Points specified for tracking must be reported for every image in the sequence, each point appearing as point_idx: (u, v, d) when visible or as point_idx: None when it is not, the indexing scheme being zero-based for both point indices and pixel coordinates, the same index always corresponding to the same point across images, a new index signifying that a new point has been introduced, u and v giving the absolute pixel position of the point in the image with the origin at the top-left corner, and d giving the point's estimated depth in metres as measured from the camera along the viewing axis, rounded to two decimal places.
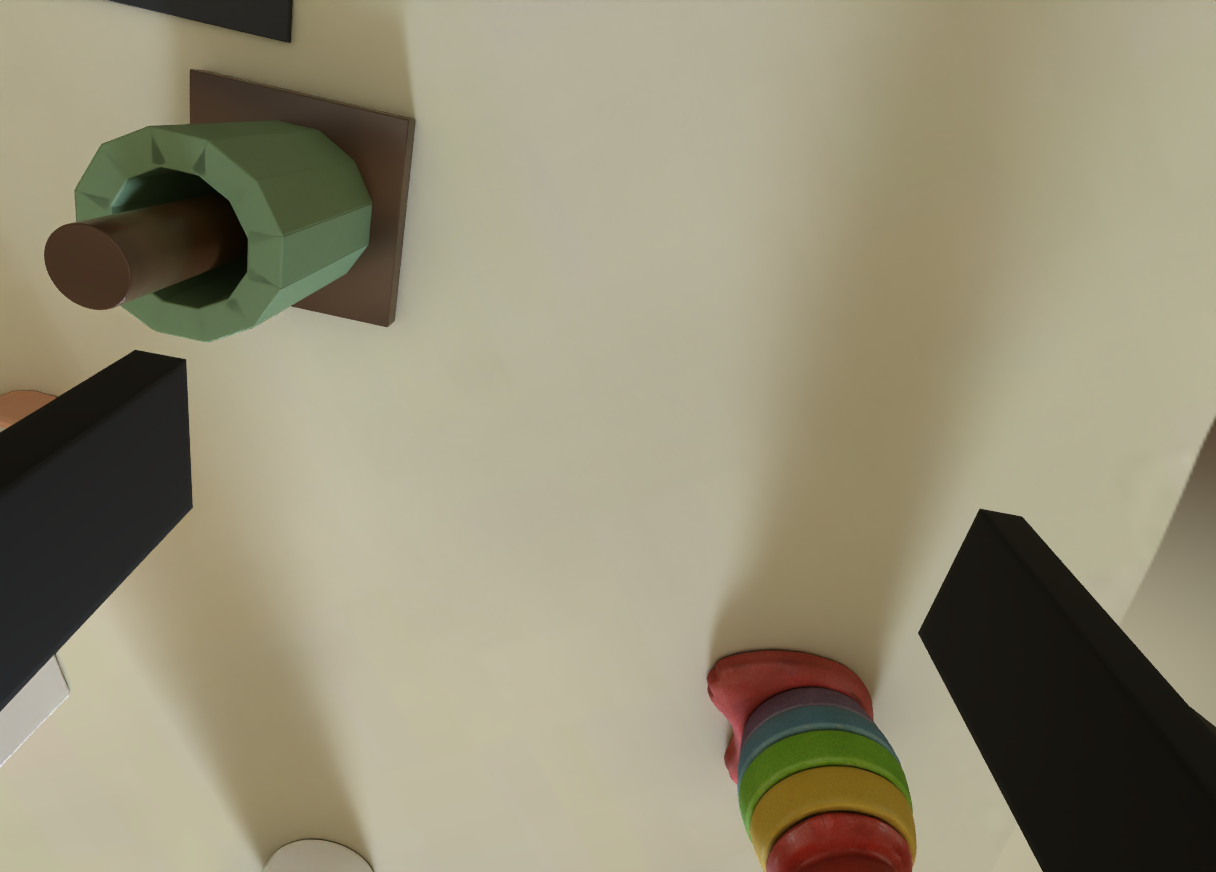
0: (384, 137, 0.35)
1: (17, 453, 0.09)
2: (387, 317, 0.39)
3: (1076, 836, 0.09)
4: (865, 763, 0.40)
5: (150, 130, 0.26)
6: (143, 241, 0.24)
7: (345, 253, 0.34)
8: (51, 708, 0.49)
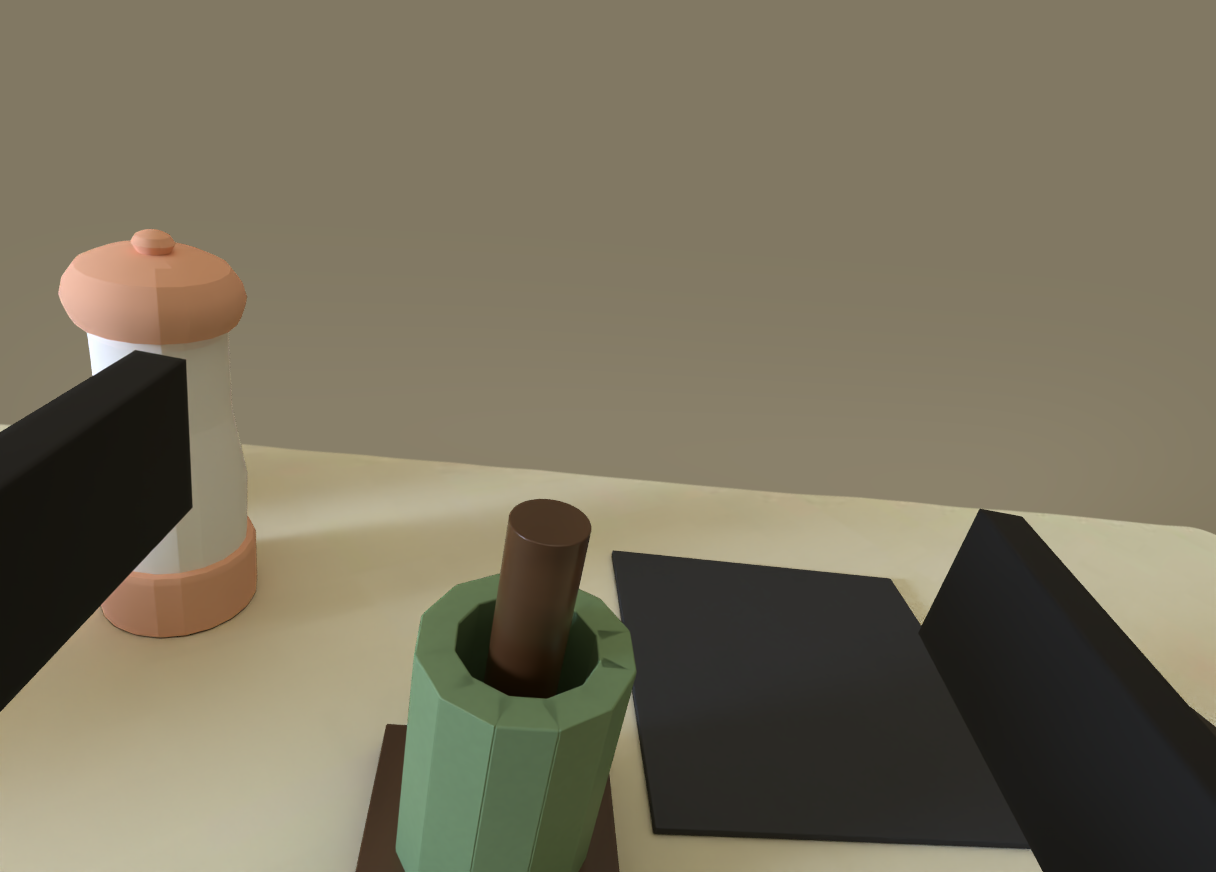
0: None
1: (17, 453, 0.09)
2: None
3: (1076, 837, 0.09)
4: None
5: (626, 631, 0.28)
6: (572, 572, 0.24)
7: (474, 867, 0.26)
8: None
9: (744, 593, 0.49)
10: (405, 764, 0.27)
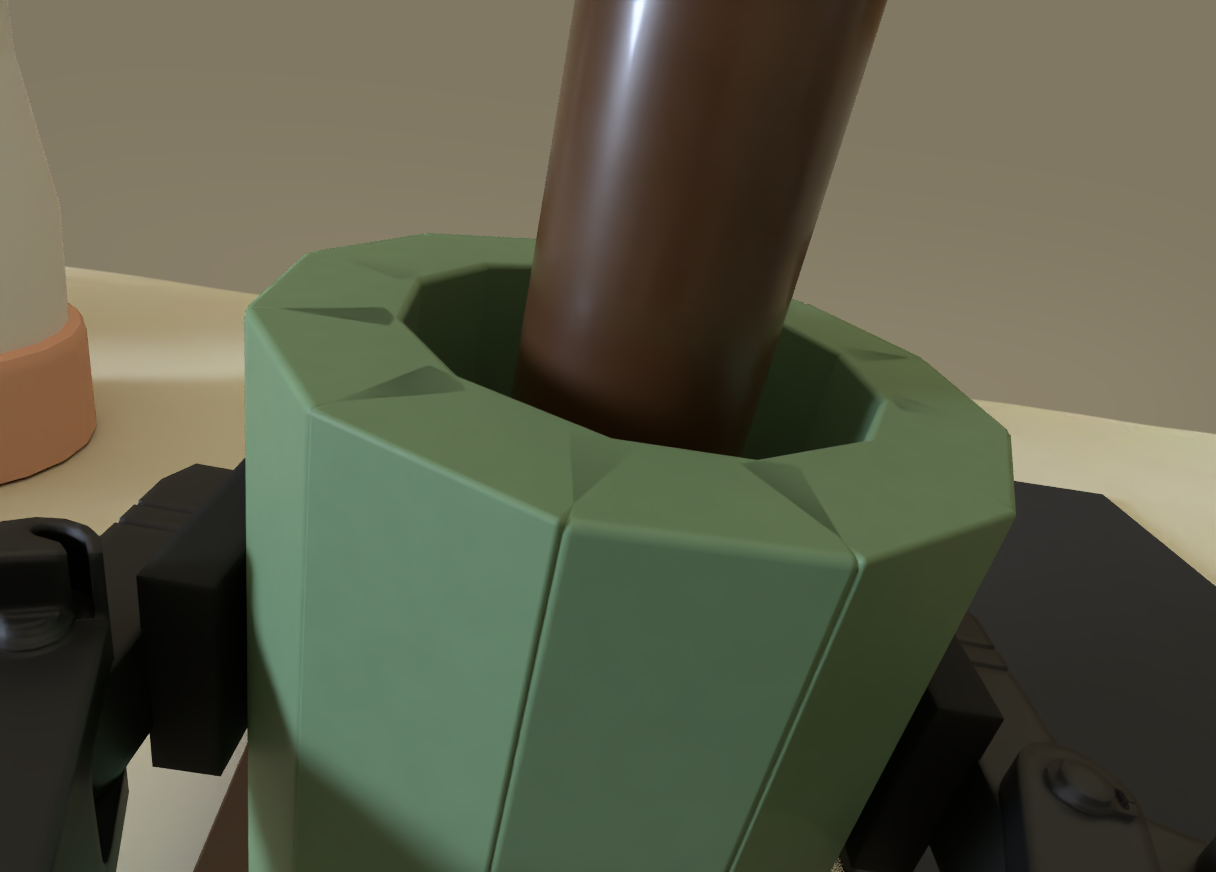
0: None
1: None
2: None
3: None
4: None
5: (913, 359, 0.09)
6: None
7: None
8: None
9: None
10: (248, 731, 0.09)
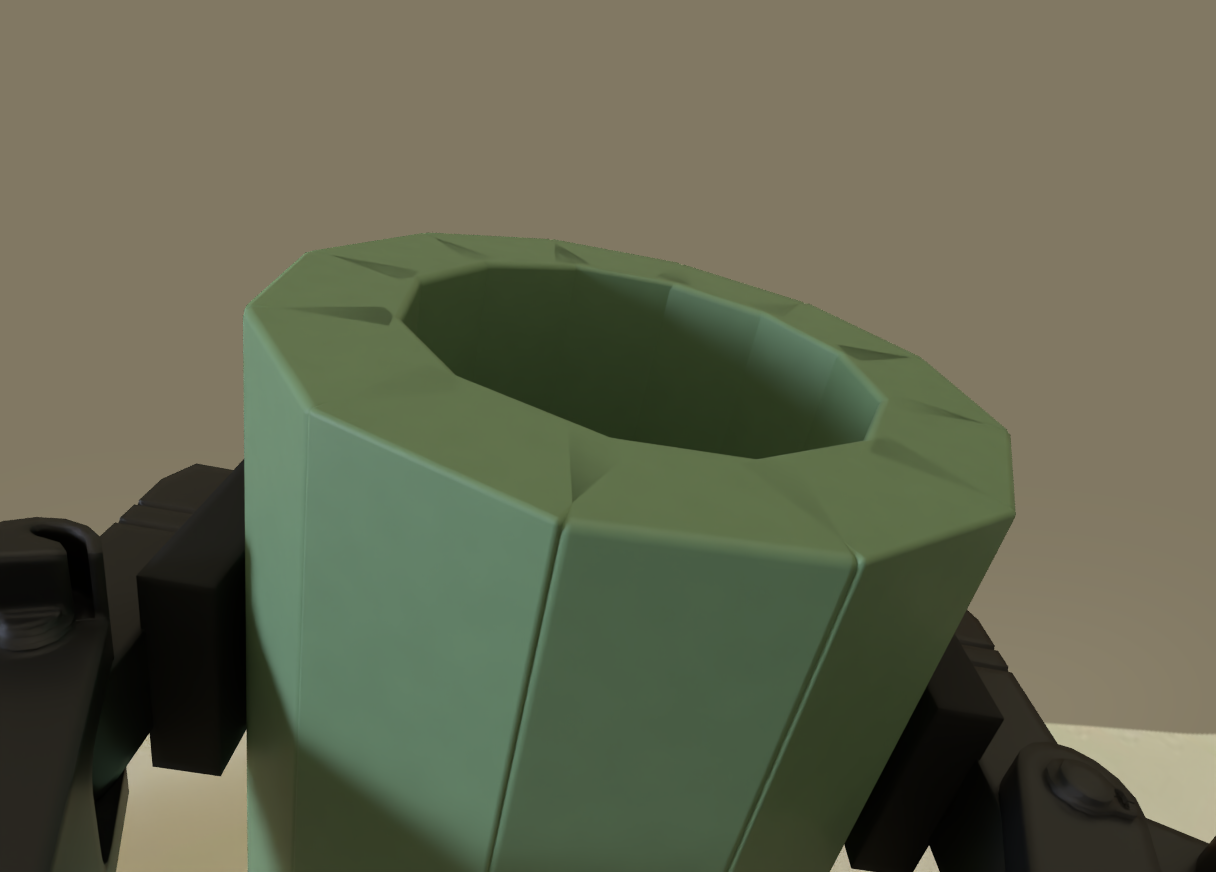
0: None
1: None
2: None
3: None
4: None
5: (913, 359, 0.09)
6: None
7: None
8: None
9: None
10: (247, 731, 0.09)
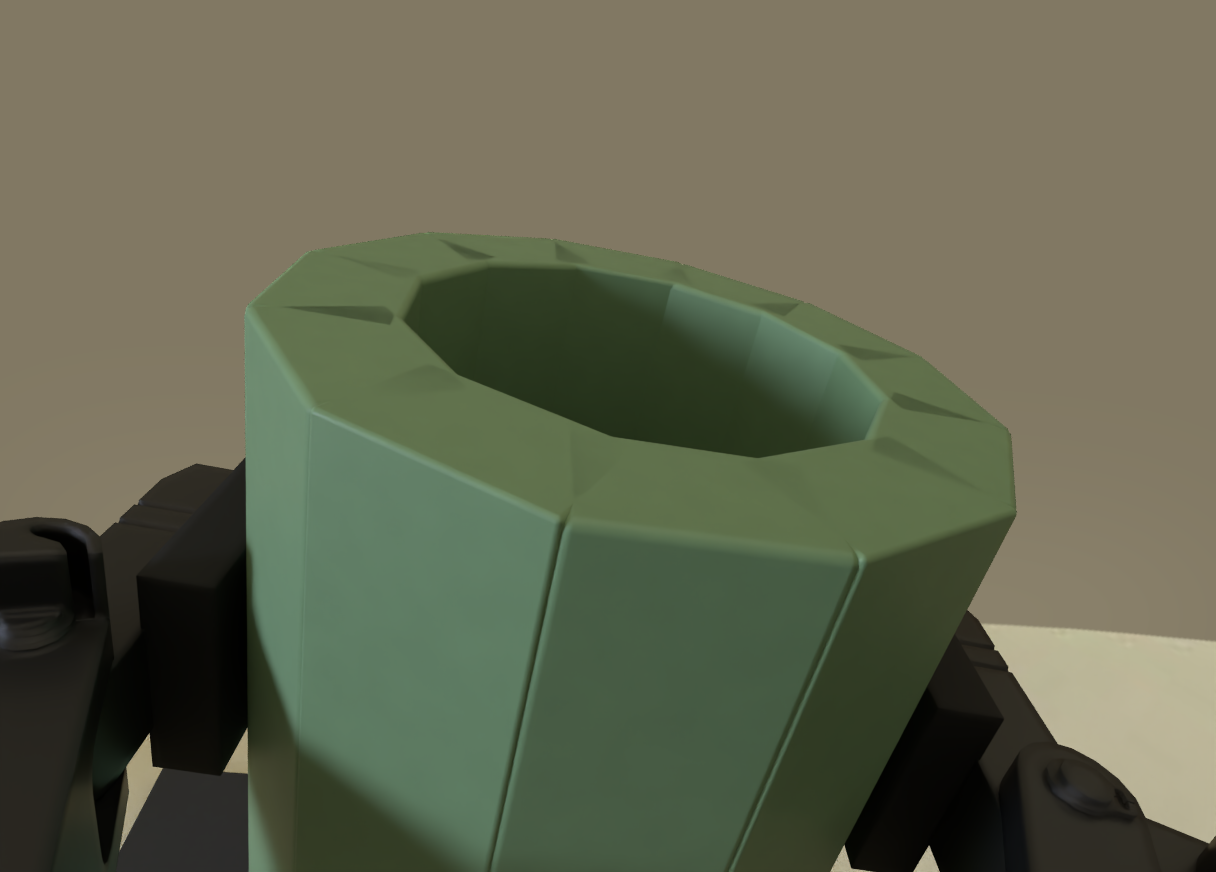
0: None
1: None
2: None
3: None
4: None
5: (914, 359, 0.09)
6: None
7: None
8: None
9: None
10: (248, 730, 0.09)
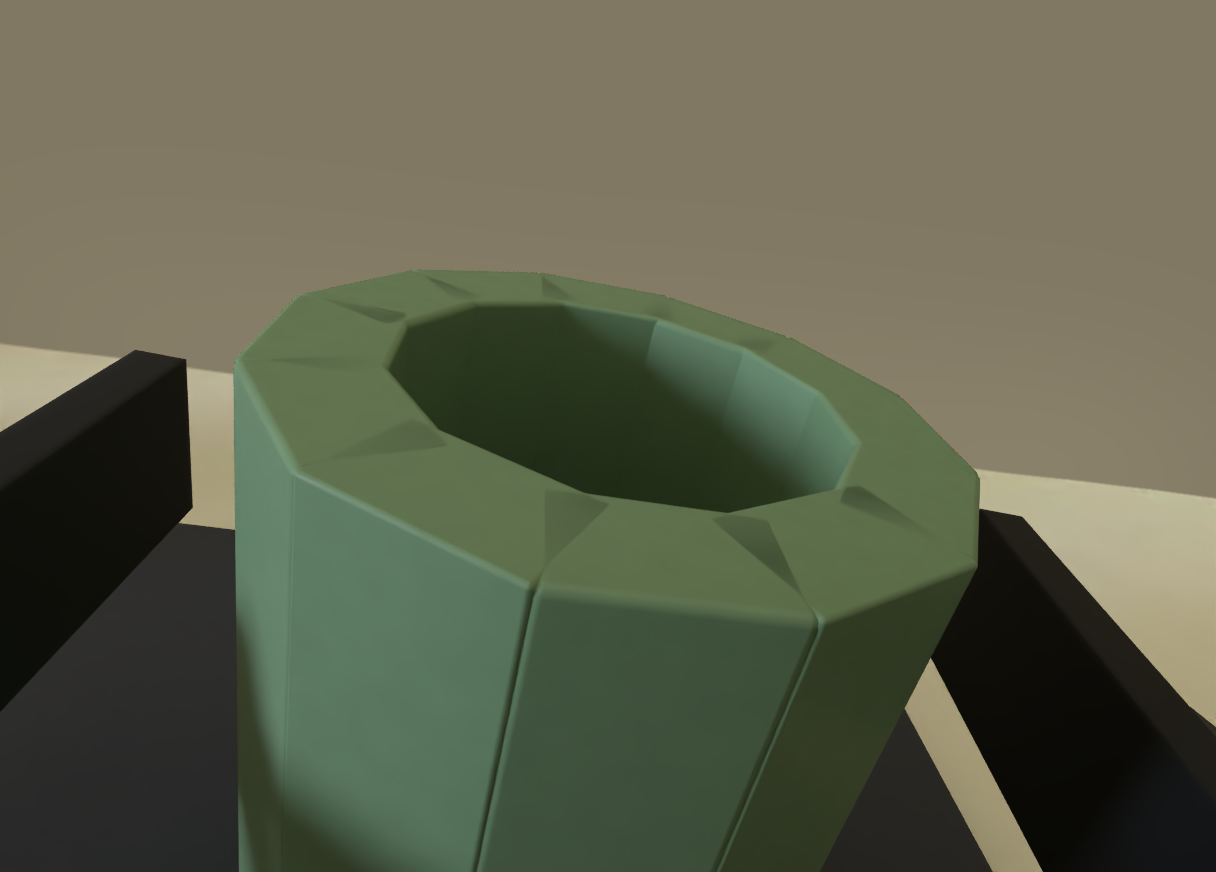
0: None
1: (17, 453, 0.09)
2: None
3: (1076, 836, 0.09)
4: None
5: (890, 397, 0.10)
6: None
7: None
8: None
9: None
10: (238, 761, 0.09)
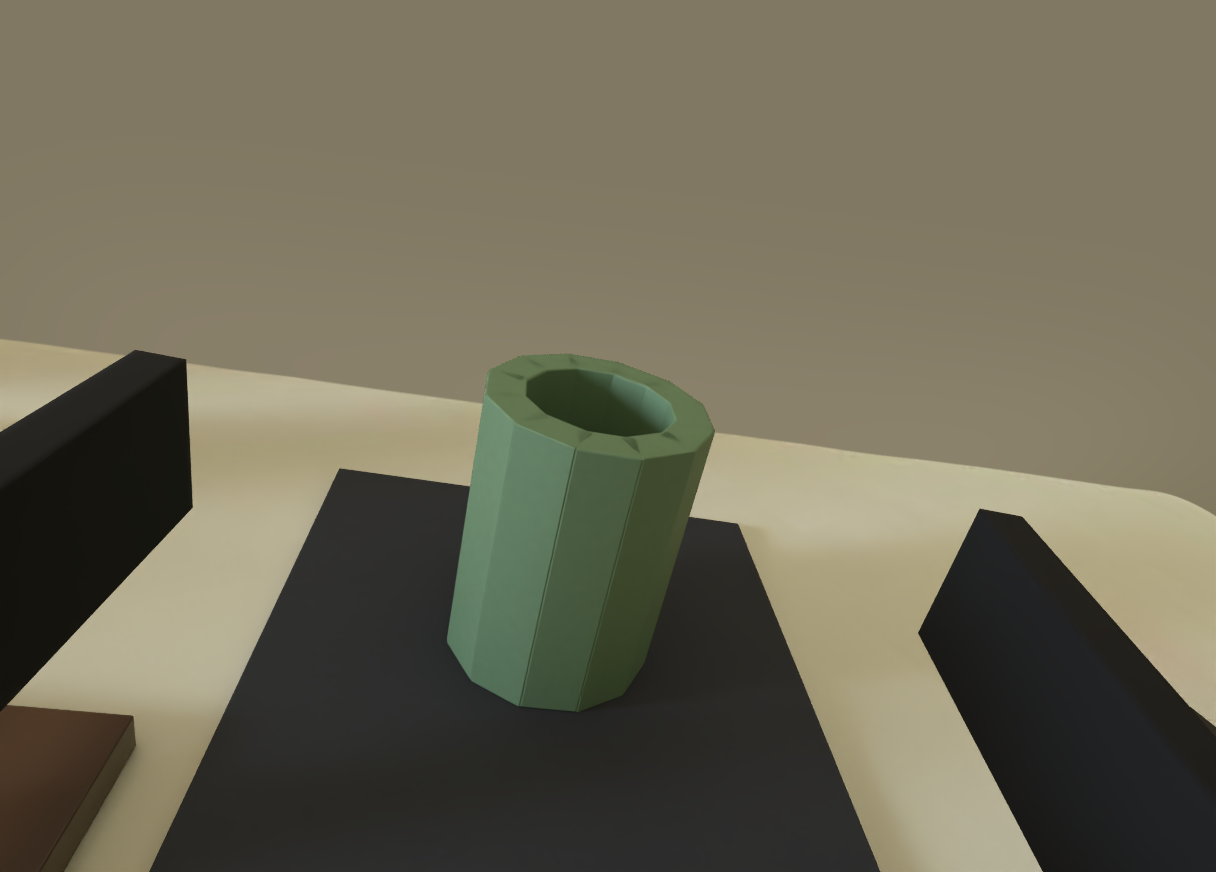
0: None
1: (17, 453, 0.09)
2: None
3: (1077, 838, 0.09)
4: None
5: (699, 404, 0.26)
6: None
7: (539, 631, 0.24)
8: None
9: None
10: (465, 531, 0.25)
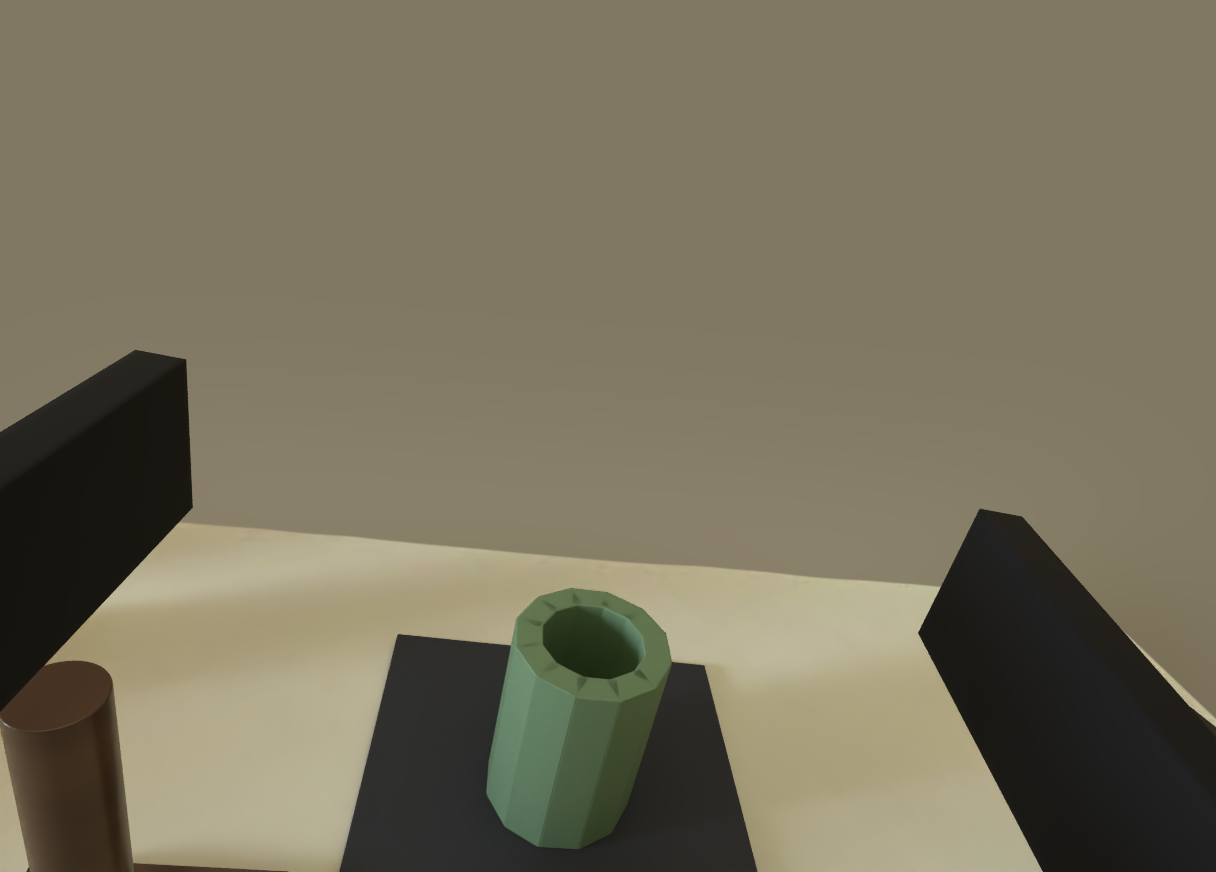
0: None
1: (17, 453, 0.09)
2: None
3: (1077, 838, 0.09)
4: None
5: (663, 633, 0.37)
6: (73, 755, 0.21)
7: (552, 801, 0.36)
8: None
9: None
10: (501, 727, 0.37)
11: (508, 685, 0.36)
